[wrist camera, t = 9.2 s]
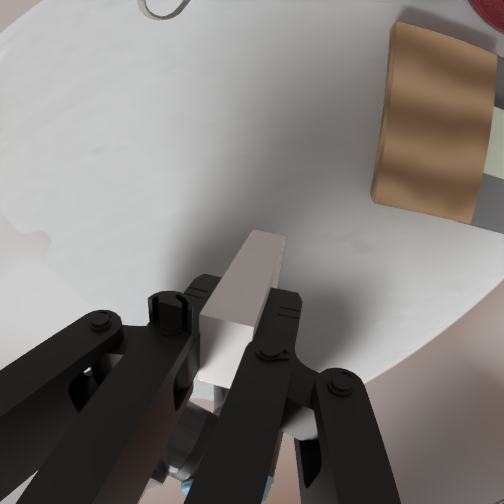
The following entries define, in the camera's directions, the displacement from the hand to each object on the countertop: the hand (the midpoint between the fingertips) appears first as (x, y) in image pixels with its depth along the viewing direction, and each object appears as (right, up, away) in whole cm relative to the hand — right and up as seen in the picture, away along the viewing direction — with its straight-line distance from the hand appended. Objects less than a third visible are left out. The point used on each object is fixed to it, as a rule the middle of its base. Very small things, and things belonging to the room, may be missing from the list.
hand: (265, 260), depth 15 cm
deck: (+20, +15, +15) cm, 29 cm away
